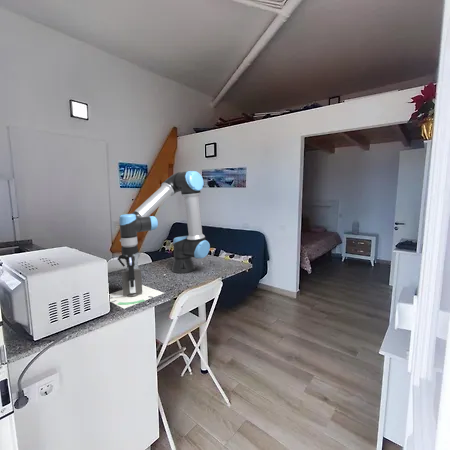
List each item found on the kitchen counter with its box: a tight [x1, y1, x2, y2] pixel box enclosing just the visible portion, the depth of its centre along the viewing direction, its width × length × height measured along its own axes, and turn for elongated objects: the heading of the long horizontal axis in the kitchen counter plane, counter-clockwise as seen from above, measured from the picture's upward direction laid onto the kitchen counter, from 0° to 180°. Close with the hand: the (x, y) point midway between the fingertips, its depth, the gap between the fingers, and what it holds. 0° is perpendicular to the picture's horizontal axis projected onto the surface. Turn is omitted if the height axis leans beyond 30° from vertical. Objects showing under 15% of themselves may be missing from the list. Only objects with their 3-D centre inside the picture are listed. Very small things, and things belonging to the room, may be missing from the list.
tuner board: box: [109, 284, 164, 310], centre depth 127 cm, size 22×22×2 cm
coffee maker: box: [117, 252, 142, 270], centre depth 160 cm, size 15×9×18 cm, turn 131°
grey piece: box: [113, 267, 143, 298], centre depth 126 cm, size 14×6×13 cm, turn 111°
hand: (132, 291), depth 127 cm, fingers closed on grey piece, 3 cm apart
